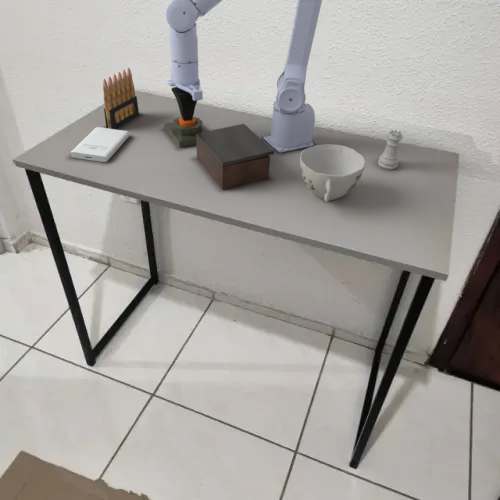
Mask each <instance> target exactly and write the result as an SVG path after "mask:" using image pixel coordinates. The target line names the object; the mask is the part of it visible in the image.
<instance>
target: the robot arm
mask: <svg viewBox="0 0 500 500" xmlns="http://www.w3.org/2000/svg"><path fill="white" fill-rule="evenodd" d="M222 1H223V0H172V1H171V2H170V3H169V4H168V6H167V8H166V12H165V18H166V21H167V23H168V25H169V34H170V36H169V41H170V42H169V43H170V44H169V45H170V59H171V60H170V61H171V69H170V71H169V73H170V79H169V80H167V82H166V83H167V85H168V86H169V87H171V89H170V90H171V92H172V94H173V95H174V98H175V100H176V102H177V105H178V109H179V114H180V117H182V119H183V120H184V121H187V120H192V119H193V116H194V114H195V110H196V106H197V103H198V101H203V98H204V97H203V94H204V93H203V90H202V87H201V81H200V78H199V77H200V76H199V45H198V44H199V43H198V42H199V41H198V40H199V39H198V34H197V33H198V32H197V21H198V19H199V18H201V17H204V16H206V15H207V14H208V13H209V12H210V11H211V10H213V9H214V8H215V7H217V6H218V5H219V4H220V3H221V2H222ZM322 3H323V0H297V5H296V9H295V14H294V19H293V23H292V24H293V26H292V30H291V35H290V40H289V45H288V50H287V55H286V60H285V63H284V68H283V71H282V72H281V74H280V75H279V77H278V79H277V80H276V95H275V101H274V102H273V106H272V117H271V118H272V119H271V130H270V132H271V133H270V135H265V136H263V140H264V141H266V143H267V144H269V146H270V147H272V148H273V149H275V150H276V151H277V152H278V153H280V154H281V153H285V152H290V151H295V150H300V149H304V148H305V149H306V148H309V147H314V146H315V145H314V143H313V136H314V130H315V124H316V123H315V122H316V113H315V110H314V108H313V107H312V105H311V104H309V103H306V99H307V98H306V91H305V86H306V85H305V84H306V79H307V78H306V77H307V71H308V65H309V60H310V55H311V52H312V46H313V43H314V38H315V34H316V29H317V25H318V21H319V15H320V11H321V7H322Z"/></svg>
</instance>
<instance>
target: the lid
mask: <svg viewBox="0 0 500 500" xmlns="http://www.w3.org/2000/svg"><path fill="white" fill-rule="evenodd" d="M196 137H197V138H198V139H199V140H200V142H201V143H202V144H203V145H204V146H205V147H206V148H207V149H208V151H209V152H210V153H211V154H212V155H213V156H214V157H215V158H216V159H217V161H218V162H219V163H220V164H221V165H222V166H227V165H231V164H235V163H240V162H244V161H248V160H252V159H256V158H260V157H265V156H272V155H275V150H274V149H273V148H271V146H270V145H268V143H267V142H265V140H264V139H262V138H260V136H258V135H257V134H256V132H254V131H253V130H251V128H250V127H249V126H247V124H245V123H240V124H236V125H231V126H226V127H221V128H217V129H211V130H207V131H206V132H201V133H197V134H196Z"/></svg>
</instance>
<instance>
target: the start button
mask: <svg viewBox="0 0 500 500" xmlns="http://www.w3.org/2000/svg"><path fill="white" fill-rule="evenodd" d="M179 117H180V118H179V125H181V126H186V127H190V126H194V125H196V118H195V117H196V116H194V117H193V119H192V120H187V121H184V120H183V119H182V116H179Z"/></svg>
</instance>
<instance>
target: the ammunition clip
mask: <svg viewBox="0 0 500 500" xmlns="http://www.w3.org/2000/svg"><path fill="white" fill-rule="evenodd" d="M132 74H133V73H132V70H131V69H130V67H128V68H127V72H126V69H123V70H122V73H121V72H120V71H118V74H117V75H116V73H114V74H113V76H112V78H111V76H108V78H107V79H108V81H107V80H106V79H105V78H103V80H102V89H103V103H104V108H103V114H104V120H105V128H108V129H115V130H117V129H118V128H120V127H121V126H123V125H125V124H127V123H128V122H130V121H131V120H133V119H135V118H136V117H138V116H140V110H139V106H138V105H139V103H138V96H137V95H136V91H135V84H134V80H133V75H132Z"/></svg>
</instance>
